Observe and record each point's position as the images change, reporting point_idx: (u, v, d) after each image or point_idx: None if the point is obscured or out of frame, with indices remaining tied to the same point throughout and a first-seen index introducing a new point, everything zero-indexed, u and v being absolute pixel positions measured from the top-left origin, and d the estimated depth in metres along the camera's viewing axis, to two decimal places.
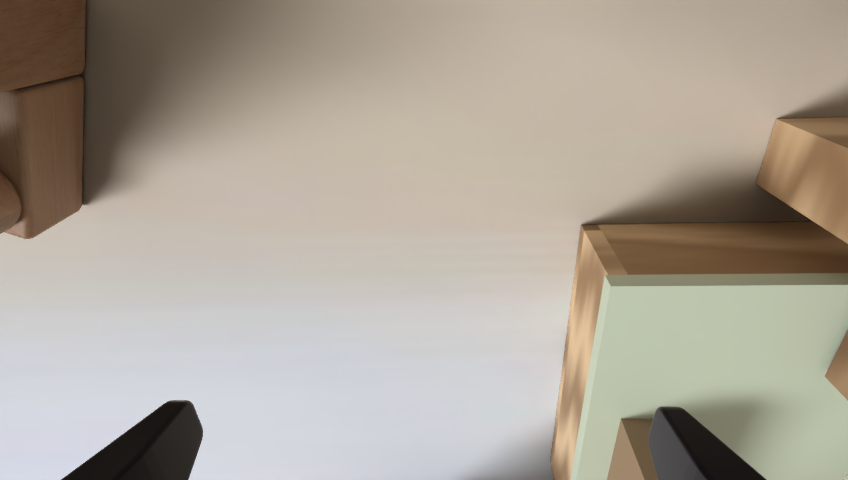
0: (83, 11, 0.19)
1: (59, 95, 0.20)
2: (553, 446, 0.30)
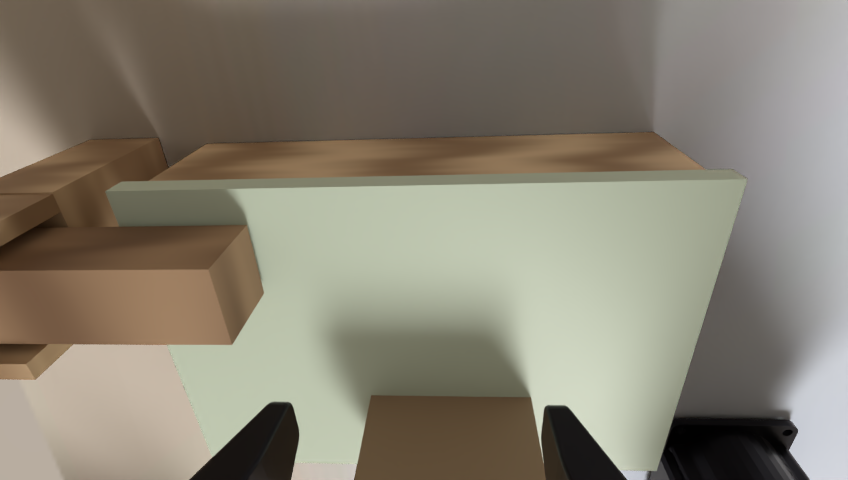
0: None
1: None
2: None
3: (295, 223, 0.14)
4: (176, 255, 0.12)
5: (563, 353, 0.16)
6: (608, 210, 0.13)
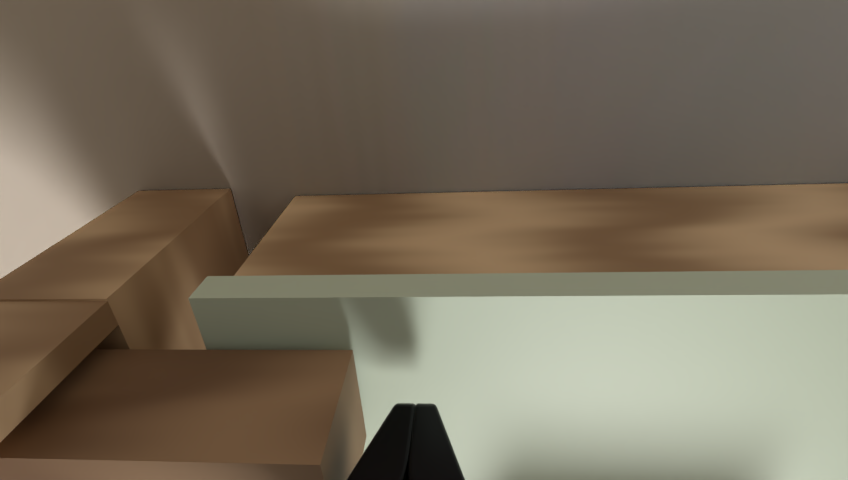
0: None
1: None
2: None
3: (477, 344, 0.09)
4: (258, 425, 0.08)
5: None
6: None
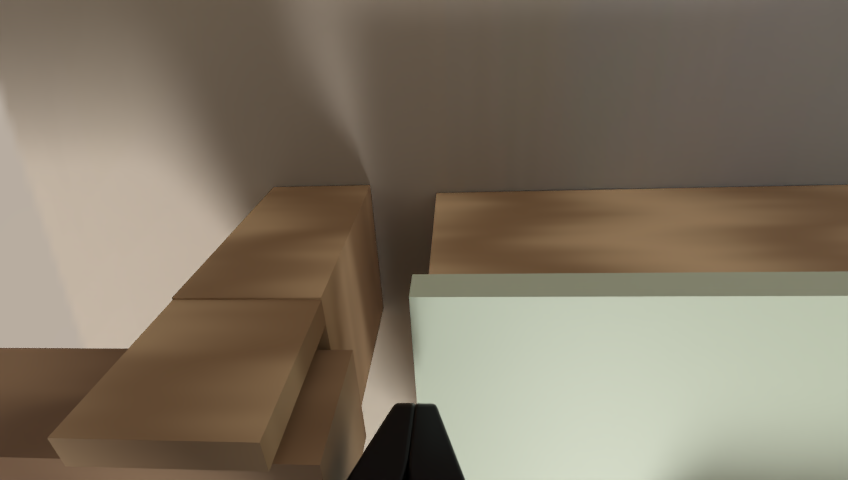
0: None
1: None
2: None
3: (706, 346, 0.09)
4: None
5: None
6: None
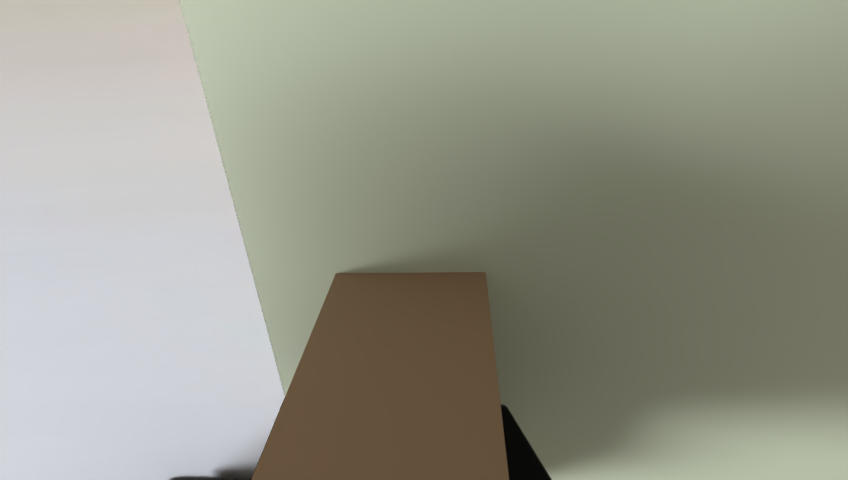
0: None
1: None
2: None
3: None
4: None
5: None
6: None
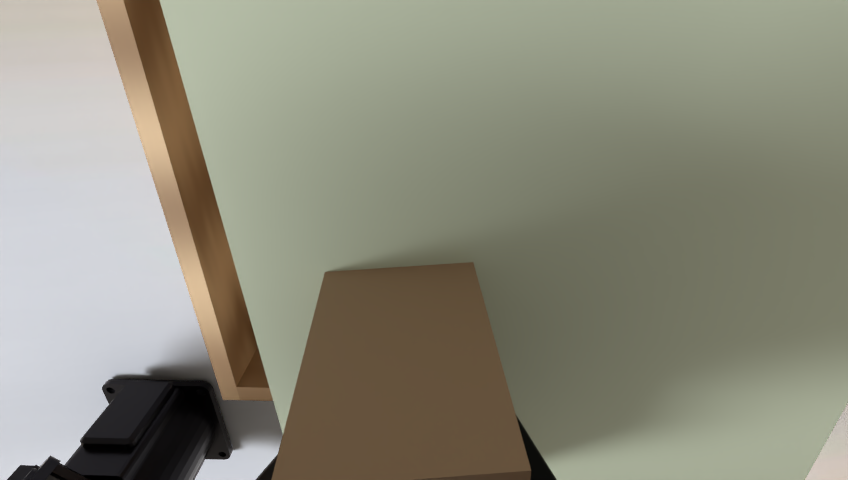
0: None
1: None
2: None
3: None
4: None
5: None
6: None
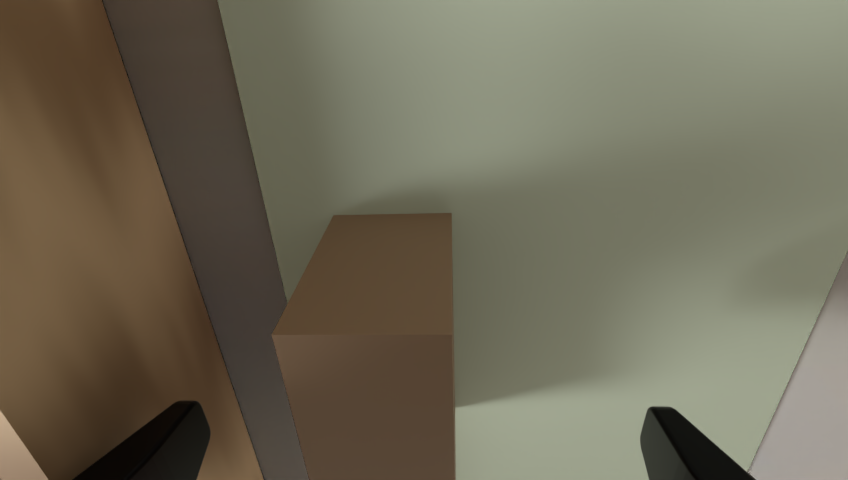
0: None
1: None
2: None
3: (838, 128, 0.09)
4: None
5: (531, 432, 0.13)
6: None
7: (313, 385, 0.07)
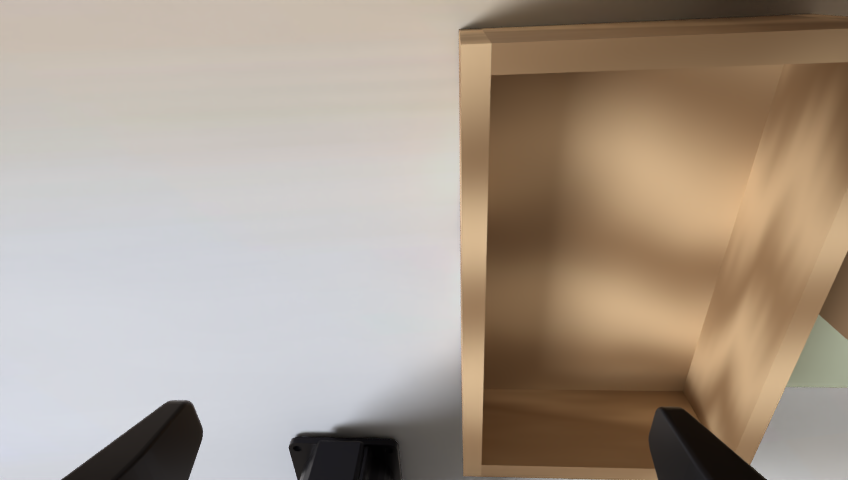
0: None
1: None
2: (461, 370, 0.24)
3: None
4: None
5: None
6: None
7: None
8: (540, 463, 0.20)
